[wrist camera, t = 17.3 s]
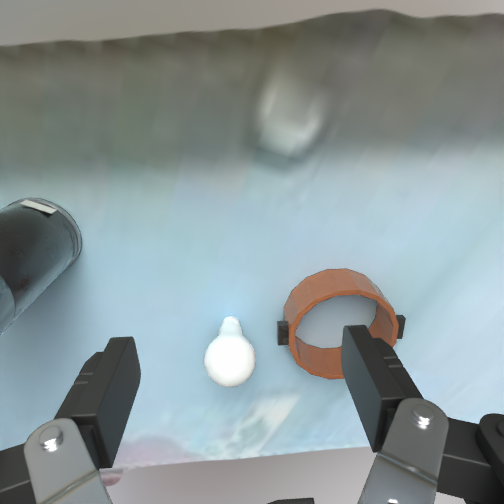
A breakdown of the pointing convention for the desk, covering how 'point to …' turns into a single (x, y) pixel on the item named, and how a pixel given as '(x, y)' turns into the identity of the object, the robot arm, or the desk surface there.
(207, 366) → the lightbulb
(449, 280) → the desk surface
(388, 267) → the desk surface
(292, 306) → the copper pot
